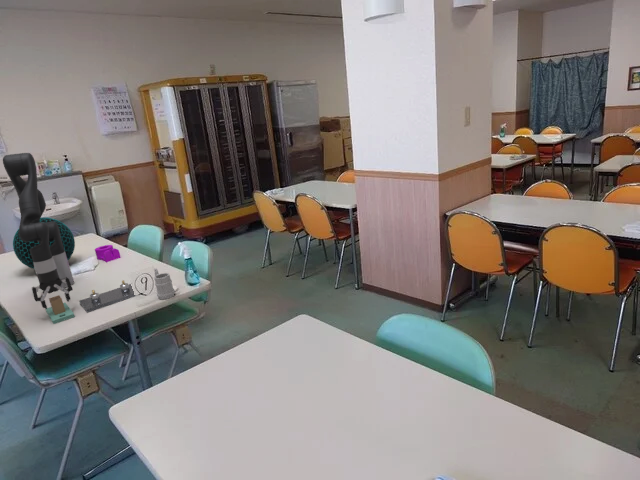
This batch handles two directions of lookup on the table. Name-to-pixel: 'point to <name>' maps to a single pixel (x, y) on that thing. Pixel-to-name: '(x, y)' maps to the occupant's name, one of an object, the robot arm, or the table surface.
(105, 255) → the tape dispenser
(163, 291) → the mug
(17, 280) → the table surface
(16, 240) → the decorative sphere
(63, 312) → the board
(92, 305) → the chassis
